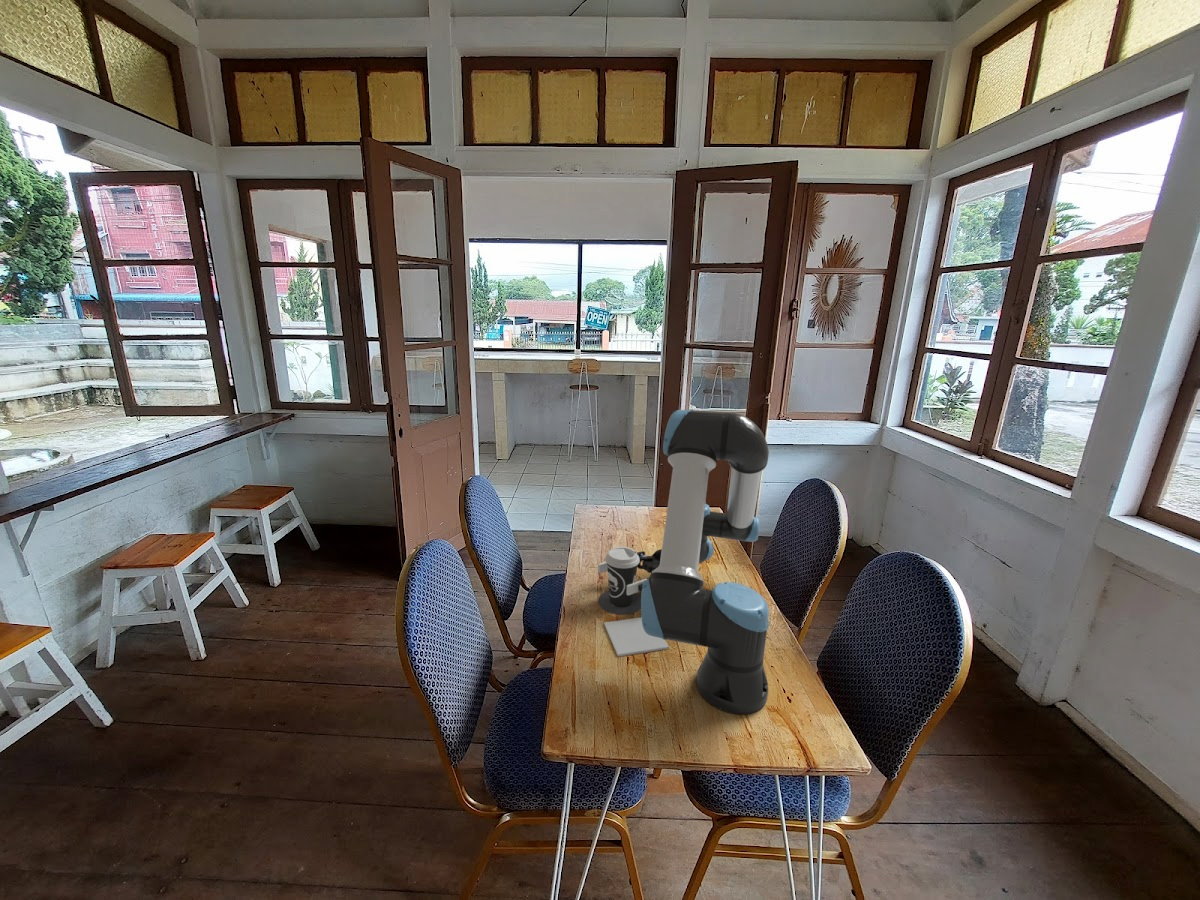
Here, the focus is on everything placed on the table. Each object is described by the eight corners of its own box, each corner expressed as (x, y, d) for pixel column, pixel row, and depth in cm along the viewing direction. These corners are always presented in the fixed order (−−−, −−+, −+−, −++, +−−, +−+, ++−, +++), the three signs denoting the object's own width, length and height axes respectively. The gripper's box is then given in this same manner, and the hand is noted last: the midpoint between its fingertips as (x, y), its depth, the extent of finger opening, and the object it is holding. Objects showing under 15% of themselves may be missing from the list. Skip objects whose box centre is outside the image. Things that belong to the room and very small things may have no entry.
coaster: (650, 611, 137) (650, 611, 137) (604, 617, 134) (604, 617, 134) (635, 586, 149) (635, 586, 149) (593, 591, 146) (593, 591, 146)
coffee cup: (635, 612, 136) (637, 563, 132) (601, 608, 138) (602, 559, 134) (639, 594, 145) (642, 547, 141) (607, 590, 147) (608, 543, 143)
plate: (668, 648, 122) (668, 646, 121) (617, 656, 118) (617, 654, 118) (650, 618, 134) (650, 616, 134) (603, 624, 131) (604, 622, 130)
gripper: (699, 589, 140) (640, 613, 128) (643, 554, 160) (587, 572, 148) (701, 565, 138) (641, 587, 126) (644, 533, 158) (588, 549, 146)
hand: (612, 579), depth 137 cm, fingers open, 13 cm apart
